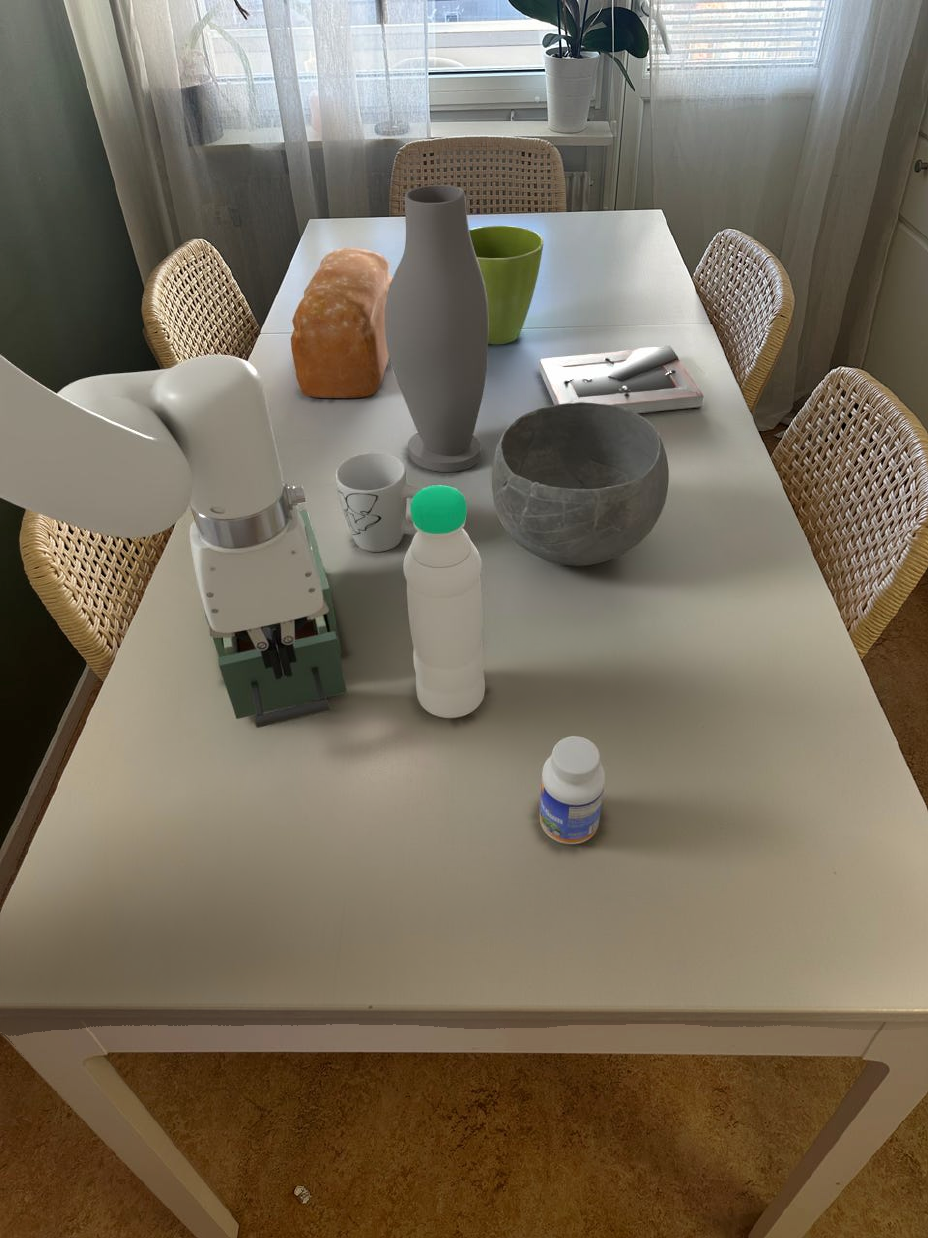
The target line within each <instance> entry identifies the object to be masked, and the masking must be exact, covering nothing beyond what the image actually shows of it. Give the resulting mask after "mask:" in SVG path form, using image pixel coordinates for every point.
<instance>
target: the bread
mask: <svg viewBox="0 0 928 1238" xmlns="http://www.w3.org/2000/svg"><path fill="white" fill-rule="evenodd" d="M392 278H393V276H392V275H390V263H389V261H388V260H387V258H386V257H385V256H384V255H383V254H380V253H378V252H374V251H372V250H368V249H365V248H352V247H351V248H349V247H345V248H340V249H336V250H332V251H331V252H329V253H328V254H326V255H325V256H323V258H322V259H321V261H320V263H319V267H318V268H317V270H316V272H314V275H313V277H312V278H311V280H310V282H309V283H308V285H307V286H306V287H305V289H304V291H303V297H302V299H301V300H300V302H299V304H298V306H297V307H296V310H295V312H294V314H293V317H292V320H291V322H292V326H293V331H292V333H291V336H290V349H291V354H292V360H293V366H294V371H295V376H296V381H297V383H298V386H299V389H300V391H301V393H302V395H305V396H308V397H311V398H323V399H354V398H355V399H357V398H365V397H368V396H372V395H375V393H377V391H378V389H379V387H381V385H382V383H383V379H384V375H385V372H386V369H387V366H388V363H389V361H390V359H389V355H388V351H387V345H386V338H385V305H386V297H387V292H388V289H389V286H390V283H391V281H392Z"/></svg>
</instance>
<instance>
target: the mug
mask: <svg viewBox="0 0 928 1238" xmlns="http://www.w3.org/2000/svg"><path fill="white" fill-rule="evenodd" d="M335 483H336V487H337V491H338V497H339V500H340V503H341V508H342V511H343V515H344V517H345V520H346V522H347V525H348V528H349V530H350V533H351V535H352V538H353V541H354V542H355V544H356V545H357V546H358V547H359V548H360V549H362V550H364V551H367V552H372V553H381V552H382V553H383V552H386V551H390V550H392V549H394V548H396V547H397V546H398V545H399V544H400V543H401V541H402V539H403V538H404V534H407V535H410V536H415V534H416V533H417V530H416V528H415V527H414V524H413V523H412V522H410V521H409V520H408V519H407V504H408V501H407V499H413V497H414V496H415V494H416V493H417V492H419V491H420V490H422V489H423V488H422V487H419V486H415V485H410V484H408V482H407V468H406V466H405V464H404V462H403V461H402V460H401V459H400V458H399V457H397V456H395V455H392V454H389V453H386V452H374V451H373V452H364V453H360V454H355V455H353V456H351V457H349V458H347V459H345V460H344V461H342V462H341V463H340V465H339V466H338V467H337V469H336V471H335Z"/></svg>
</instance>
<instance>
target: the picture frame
mask: <svg viewBox="0 0 928 1238" xmlns="http://www.w3.org/2000/svg"><path fill="white" fill-rule="evenodd" d="M538 361H539V367H538V368H539V369H538V370H539V372H540V375H541V377H542V379H543V381H544V384H545V386H546V389H547V391H548V393H549V397H550V398H551V401H552V403H553V405H557V404H563V403H577V402H584V403H599V404H608V405H614V406H619V407H622V408H625V409H628V410H631V411H633V412H635V413H637V414H639V415H640V414H648V413H658V412H666V411H674V410H686V409H694V408H695V409H697V408H701V407H703V403H704V396H705V395H704V393H703V392H702V391H701V389H700V388H699V386H698V385H697V383H696V382H695V381H694V379H693V378H692V376H691V375H690V374H689V372H688V371H687V369H686V367H685V366H684V365H683V363H682V362H681V360H680V359H679V355H677V353H676V352H675V350H674V349H673V347H672V346H671V345H664V346H662V345H661V346H654V347H642V348H640V347H639V348H638V349H632V350H630V349H629V350H621V351H608V352H600V353H589V354H579V355H569V356H567V355H566V356H557V357H545V358H539V360H538Z"/></svg>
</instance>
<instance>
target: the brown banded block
mask: <svg viewBox="0 0 928 1238" xmlns="http://www.w3.org/2000/svg"><path fill="white" fill-rule="evenodd" d="M272 631H273V634H274V638H275V642H276V637H275V632H274V630H272ZM315 635H316V632H315V628H314V625H313V621H311V622H307V623H306V624H305V625H304V626H303V627H302V628H301V630H300V631H299V632H298V633H297V634H296V635H295V640H298V639H302V638H306V637H311V636H315ZM237 639H238V646H239V652H245V651H249V650H254V649H256V647H255V646H254V644H251V643H249V642H246V641H244V640H241V639H239V638H237ZM276 644H277V643H276Z"/></svg>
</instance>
